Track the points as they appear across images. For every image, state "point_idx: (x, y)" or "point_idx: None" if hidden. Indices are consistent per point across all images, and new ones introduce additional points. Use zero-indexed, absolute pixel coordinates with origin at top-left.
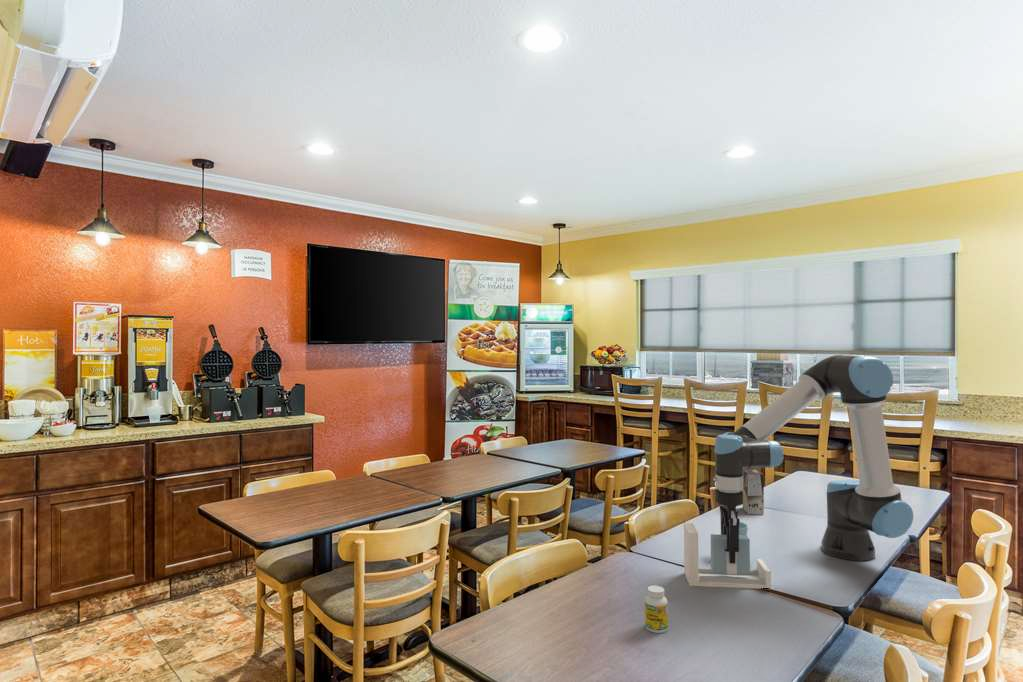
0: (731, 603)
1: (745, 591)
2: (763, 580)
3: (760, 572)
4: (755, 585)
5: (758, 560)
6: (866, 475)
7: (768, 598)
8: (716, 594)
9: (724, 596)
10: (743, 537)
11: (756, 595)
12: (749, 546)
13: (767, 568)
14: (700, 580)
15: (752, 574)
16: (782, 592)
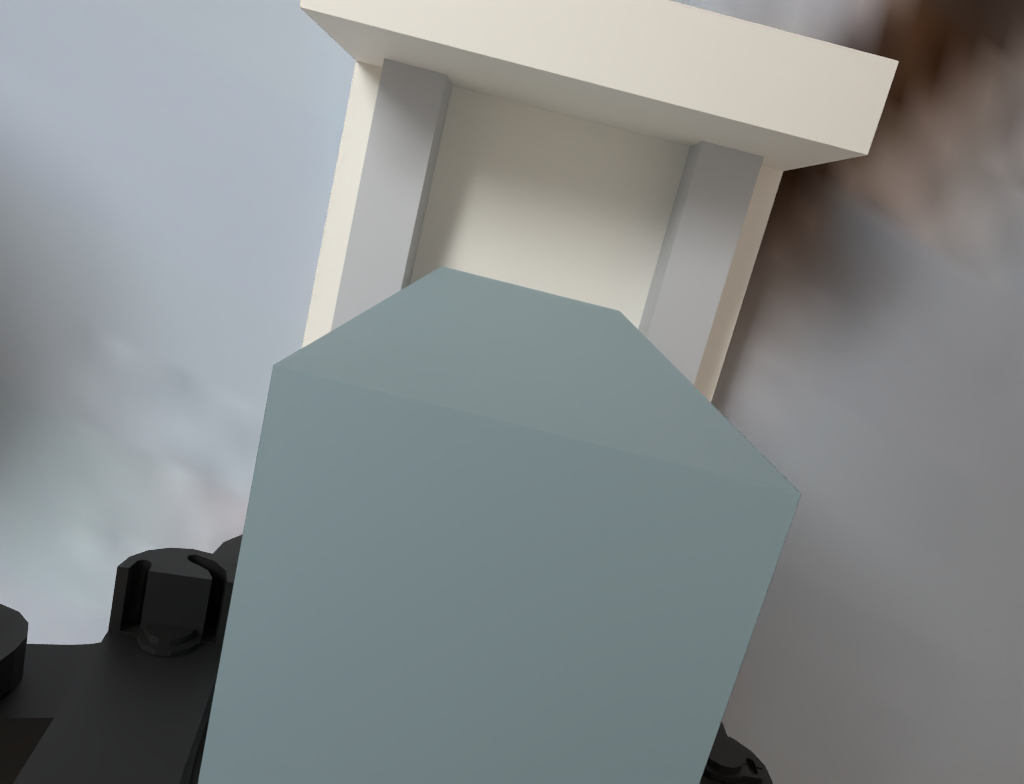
0: (1002, 722)
1: (774, 448)
2: (754, 175)
3: (555, 99)
4: (741, 299)
5: (375, 6)
6: None
7: (1006, 282)
8: (776, 769)
9: (838, 716)
10: (529, 614)
11: (899, 379)
12: (718, 417)
13: (762, 47)
14: None
15: (433, 167)
16: (902, 5)
